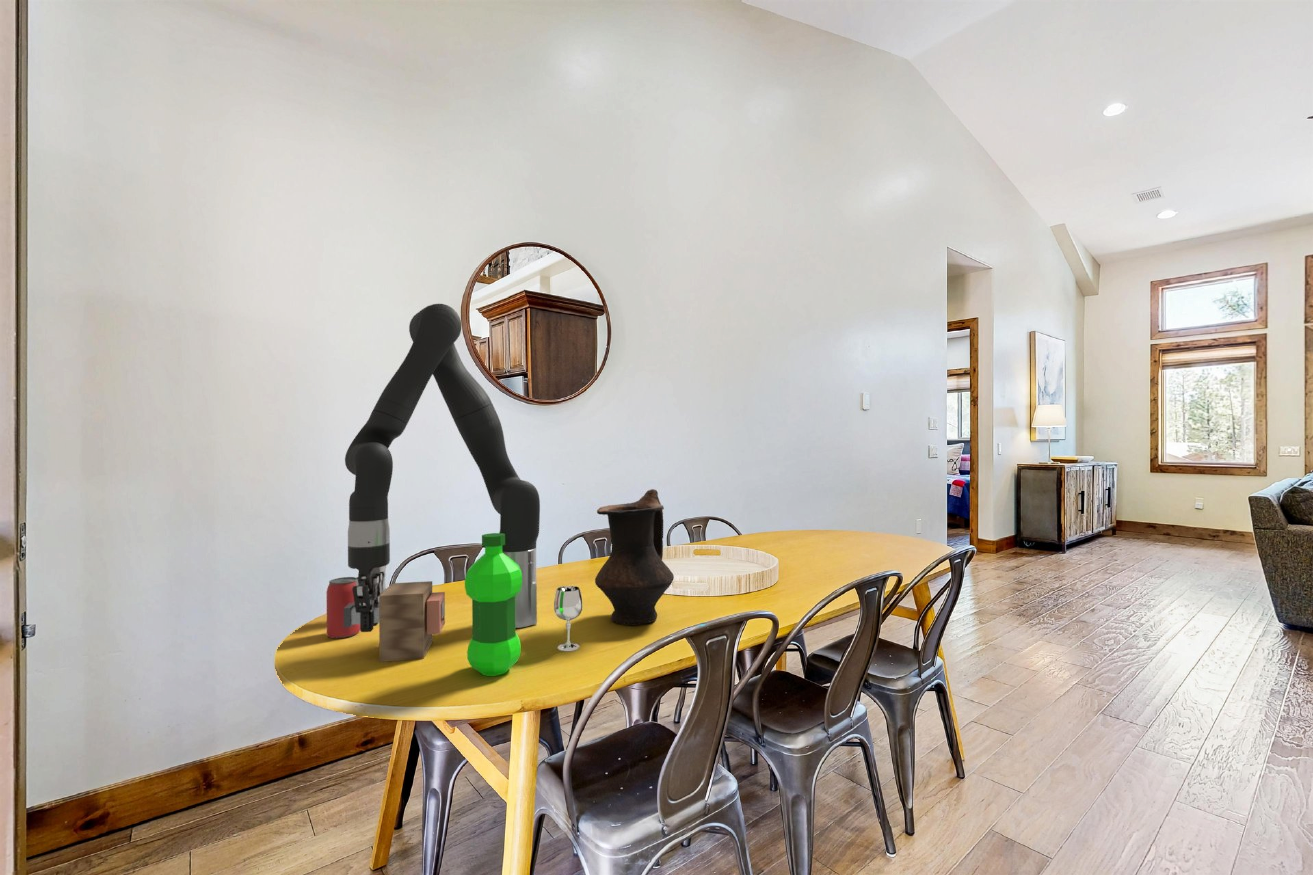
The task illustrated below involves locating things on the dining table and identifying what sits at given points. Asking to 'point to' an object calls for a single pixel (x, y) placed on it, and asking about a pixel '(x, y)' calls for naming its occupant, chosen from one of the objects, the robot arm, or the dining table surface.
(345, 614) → the shaft
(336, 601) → the beer can
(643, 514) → the jug
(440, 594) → the spacer
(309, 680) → the dining table surface
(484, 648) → the plastic bottle
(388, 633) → the brown wooden block
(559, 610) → the wineglass
